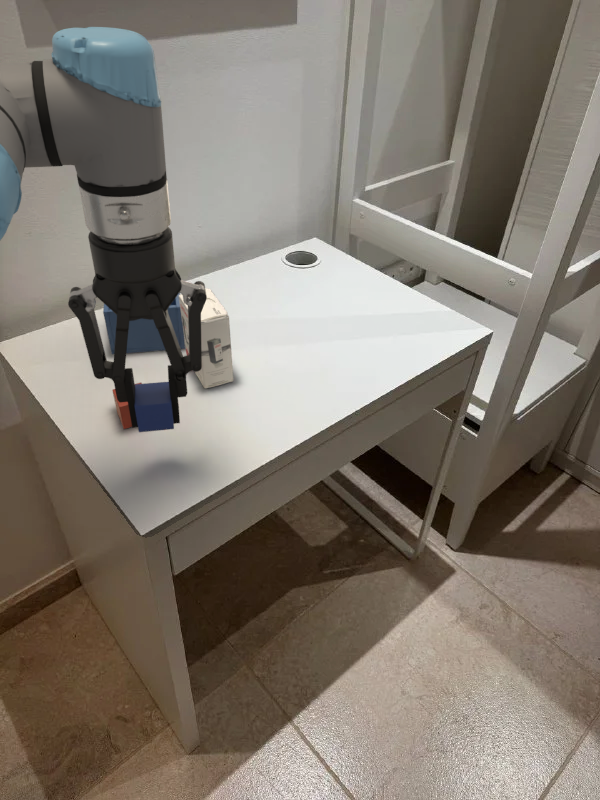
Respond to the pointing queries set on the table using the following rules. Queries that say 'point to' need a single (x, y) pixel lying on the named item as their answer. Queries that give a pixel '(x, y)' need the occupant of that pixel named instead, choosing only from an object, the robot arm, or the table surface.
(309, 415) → the table surface
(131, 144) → the robot arm
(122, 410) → the terracotta block
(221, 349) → the ink box
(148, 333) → the blue bin
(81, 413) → the table surface
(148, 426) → the blue block
